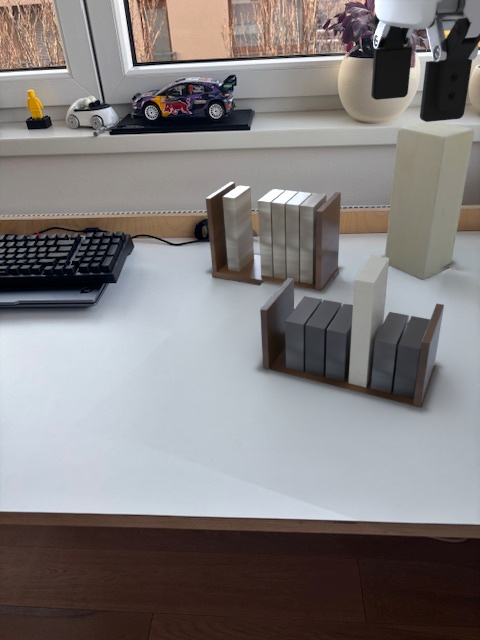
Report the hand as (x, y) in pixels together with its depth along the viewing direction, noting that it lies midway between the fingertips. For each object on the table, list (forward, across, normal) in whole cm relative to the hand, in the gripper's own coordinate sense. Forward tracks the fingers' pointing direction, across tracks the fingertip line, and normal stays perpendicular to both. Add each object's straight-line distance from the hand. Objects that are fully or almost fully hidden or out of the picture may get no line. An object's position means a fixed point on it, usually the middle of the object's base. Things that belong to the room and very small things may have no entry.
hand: (412, 107), depth 44 cm
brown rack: (+30, +31, +5) cm, 44 cm away
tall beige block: (+30, +28, -17) cm, 45 cm away
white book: (+29, +3, +1) cm, 29 cm away
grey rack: (+30, +4, +2) cm, 30 cm away
